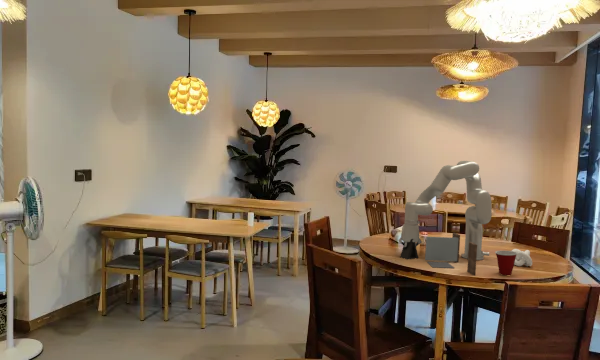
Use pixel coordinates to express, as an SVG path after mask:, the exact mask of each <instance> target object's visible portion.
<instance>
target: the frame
mask: <svg viewBox="0 0 600 360" xmlns="http://www.w3.org/2000/svg"><path fill="white" fill-rule="evenodd" d="M451 238H458V253H457V261H453V263H459V261H460V245H461V244H460V243H461V234H459V233H457V232H452V237H451ZM476 258H477V244H475V243H473V242H469V250H468V259H467V270H466V272H467V273H469V274H470V275H471V276H476V272H477V270H476V269H477V260H476Z"/></svg>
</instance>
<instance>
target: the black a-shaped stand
mask: <svg viewBox="0 0 600 360" xmlns="http://www.w3.org/2000/svg"><path fill="white" fill-rule="evenodd" d="M412 240H413V239H411V240H410V242H407V249H405V251H404V246H403V245H402V249H401V253H400V256H399V258H401V257H402V258H401V259H404V258H405V259H404V260H414V259H415V258H416V259H419V255H418V250H417V246H416V244H415V242H412ZM413 248H415V251H414V254H413V253H412V251H413Z"/></svg>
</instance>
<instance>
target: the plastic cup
mask: <svg viewBox="0 0 600 360" xmlns="http://www.w3.org/2000/svg"><path fill="white" fill-rule="evenodd" d="M494 253H495V256H496V259H497V267H498V273H500V274H499V275H501V274H502V276H507V275H510V276H511V275H512V274H513V269H514V266H515V265H514V262H515V259H516V255H517V252H514V251H512V250H496V251H495V252H494Z"/></svg>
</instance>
